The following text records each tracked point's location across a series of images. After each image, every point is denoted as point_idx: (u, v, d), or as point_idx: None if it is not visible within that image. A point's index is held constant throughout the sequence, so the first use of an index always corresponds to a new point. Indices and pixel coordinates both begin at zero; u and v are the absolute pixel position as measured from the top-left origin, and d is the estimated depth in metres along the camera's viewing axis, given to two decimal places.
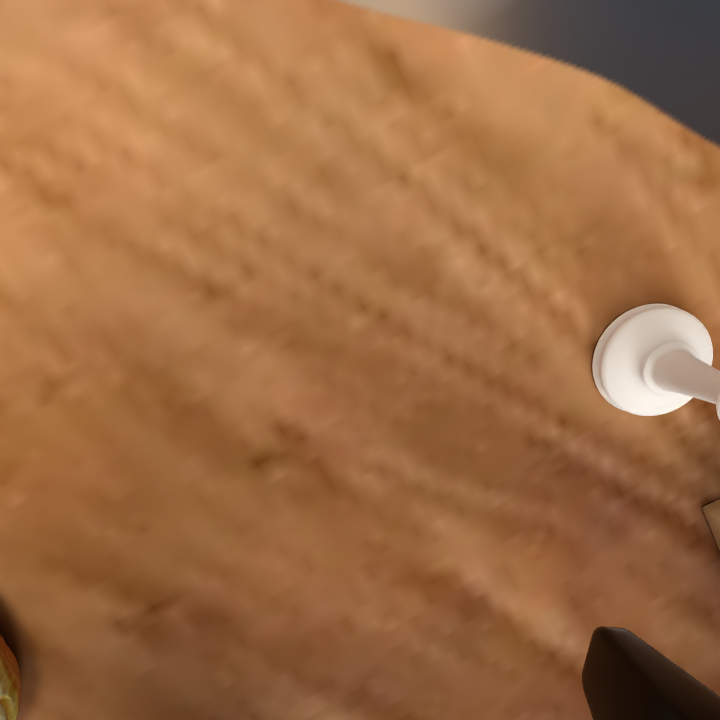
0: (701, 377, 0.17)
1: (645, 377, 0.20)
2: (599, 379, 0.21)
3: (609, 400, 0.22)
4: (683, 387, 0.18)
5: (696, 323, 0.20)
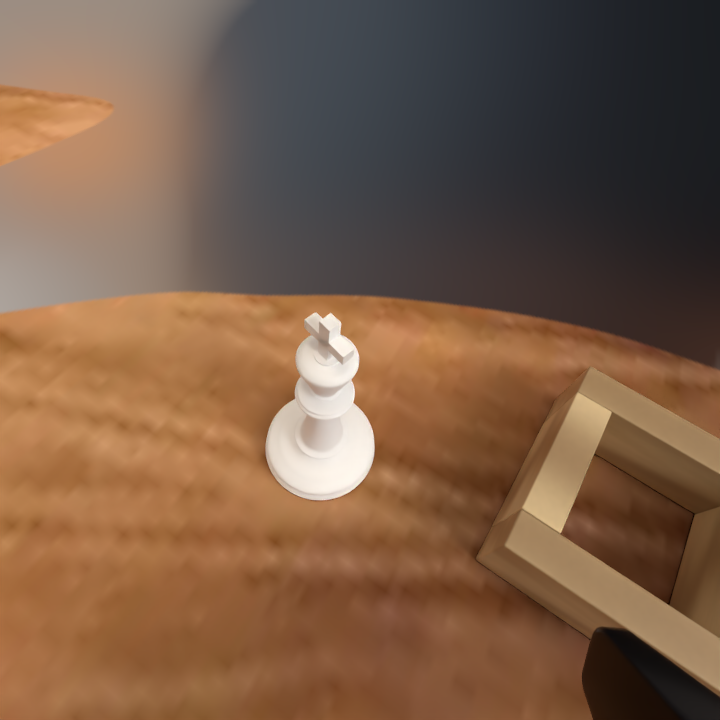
0: None
1: (302, 449, 0.20)
2: (281, 480, 0.21)
3: (305, 496, 0.21)
4: (311, 428, 0.19)
5: None
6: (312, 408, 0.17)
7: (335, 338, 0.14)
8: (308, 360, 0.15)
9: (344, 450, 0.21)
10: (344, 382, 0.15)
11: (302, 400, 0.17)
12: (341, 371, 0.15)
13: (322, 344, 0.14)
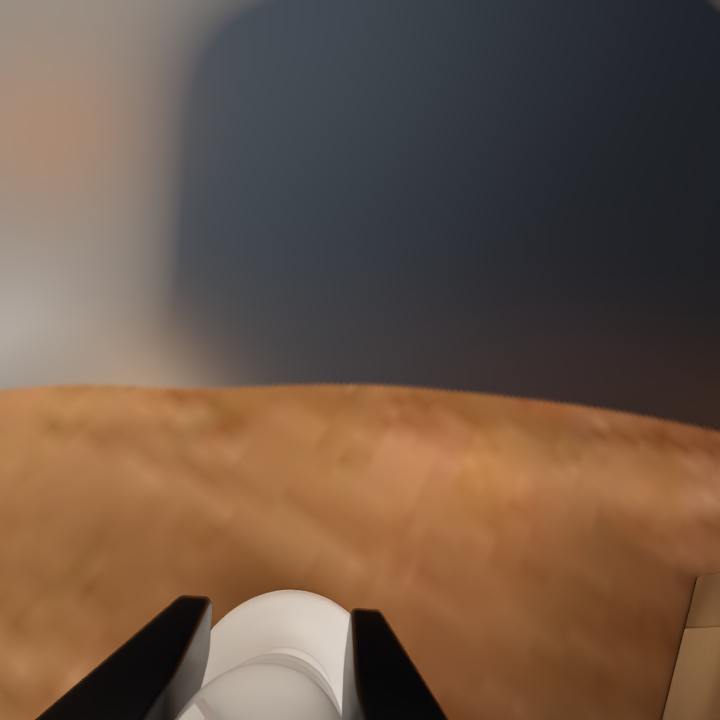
0: None
1: None
2: None
3: None
4: None
5: (301, 601, 0.12)
6: None
7: None
8: None
9: None
10: None
11: None
12: None
13: None
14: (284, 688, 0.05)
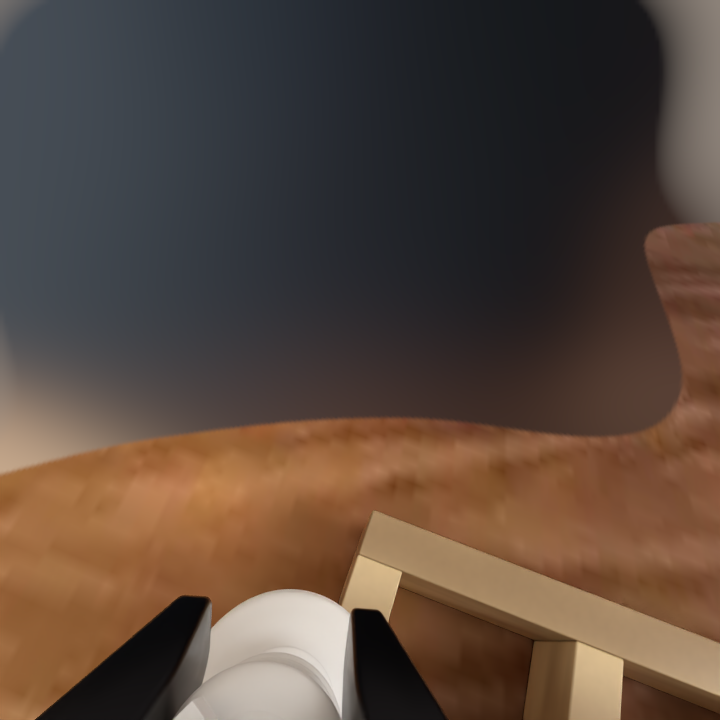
0: None
1: None
2: None
3: None
4: None
5: (301, 600, 0.12)
6: None
7: None
8: None
9: None
10: None
11: None
12: None
13: None
14: (282, 686, 0.05)
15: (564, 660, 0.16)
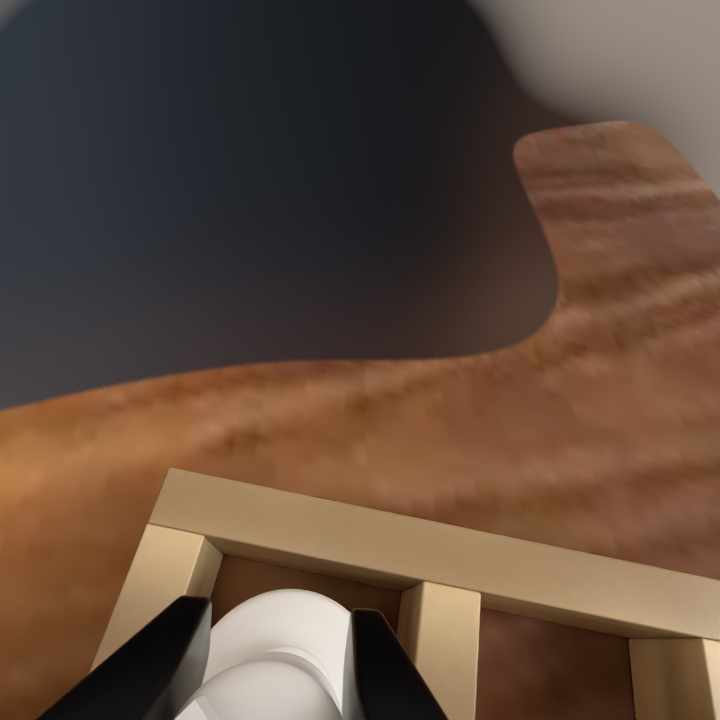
0: None
1: None
2: None
3: None
4: None
5: (302, 600, 0.12)
6: None
7: None
8: None
9: None
10: None
11: None
12: None
13: None
14: (284, 685, 0.05)
15: (415, 606, 0.13)
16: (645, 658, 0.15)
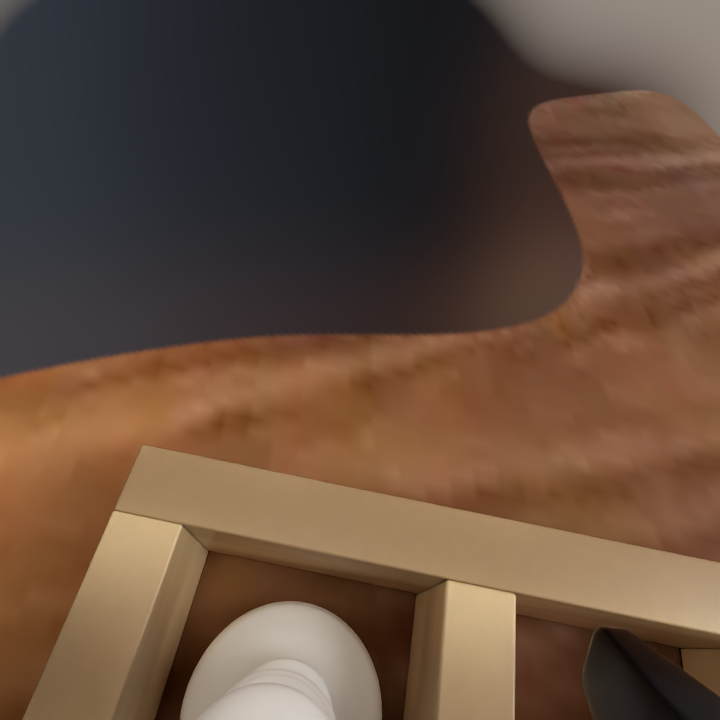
0: None
1: None
2: None
3: None
4: None
5: (300, 613, 0.13)
6: None
7: None
8: None
9: None
10: None
11: None
12: None
13: None
14: (284, 707, 0.06)
15: (436, 611, 0.11)
16: (704, 672, 0.13)
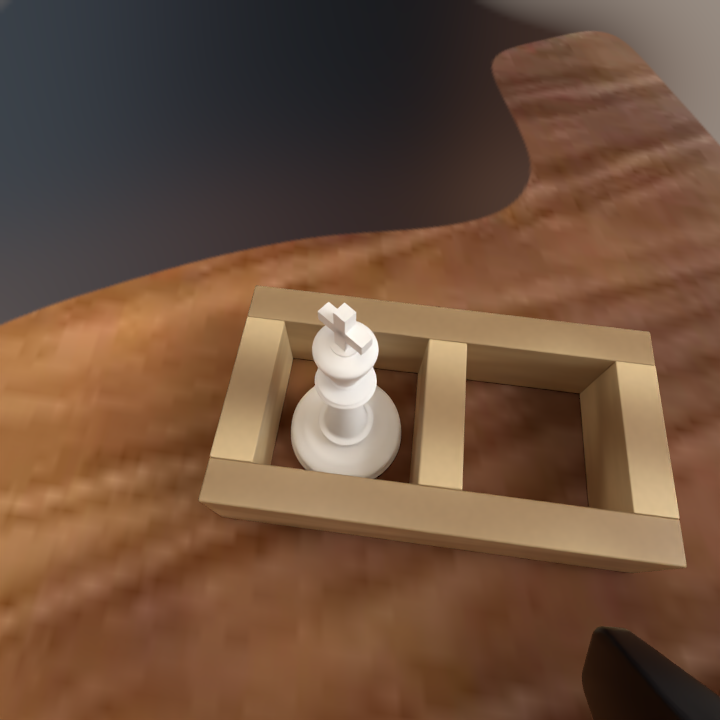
0: None
1: (327, 437, 0.20)
2: (309, 469, 0.21)
3: None
4: (334, 416, 0.19)
5: None
6: (334, 399, 0.16)
7: (351, 327, 0.13)
8: (325, 352, 0.14)
9: (370, 434, 0.20)
10: (365, 372, 0.14)
11: (323, 391, 0.16)
12: (360, 361, 0.14)
13: (338, 335, 0.14)
14: None
15: (425, 359, 0.20)
16: (588, 397, 0.22)
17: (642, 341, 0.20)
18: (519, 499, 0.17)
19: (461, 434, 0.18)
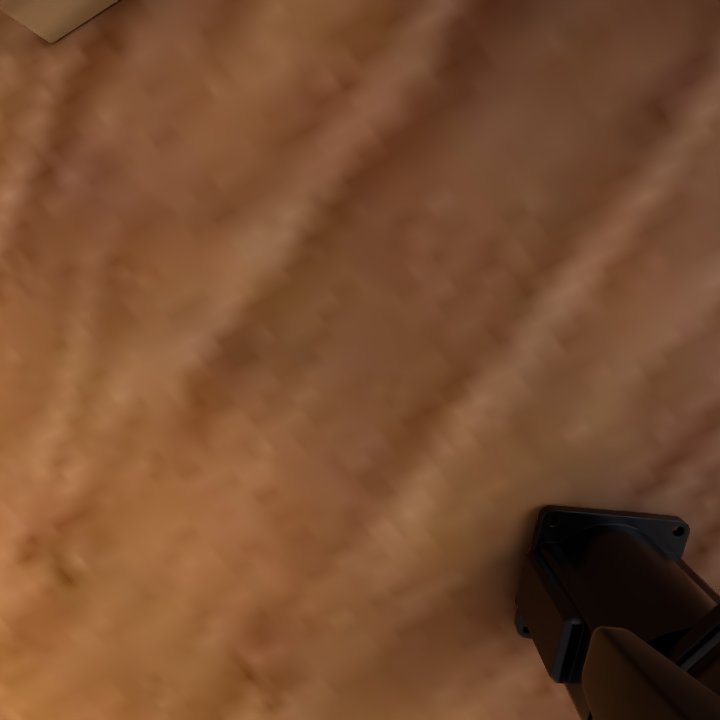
0: None
1: None
2: None
3: None
4: None
5: None
6: None
7: None
8: None
9: None
10: None
11: None
12: None
13: None
14: None
15: None
16: None
17: None
18: None
19: None
